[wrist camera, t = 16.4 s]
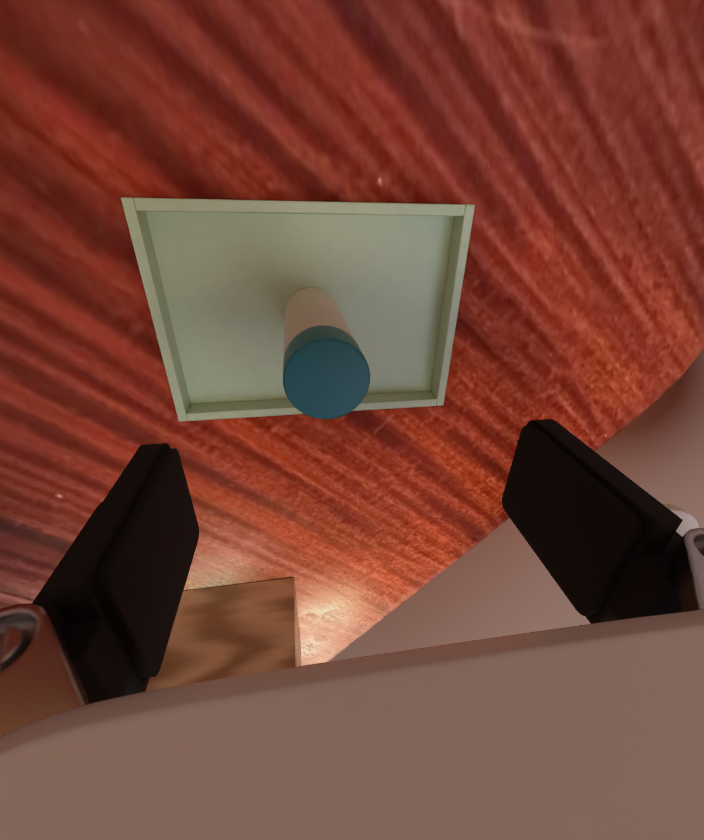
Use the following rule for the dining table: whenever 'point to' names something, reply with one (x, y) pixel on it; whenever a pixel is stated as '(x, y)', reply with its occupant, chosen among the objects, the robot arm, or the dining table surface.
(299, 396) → the pen
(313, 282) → the tray
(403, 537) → the dining table surface
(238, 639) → the pen stand
